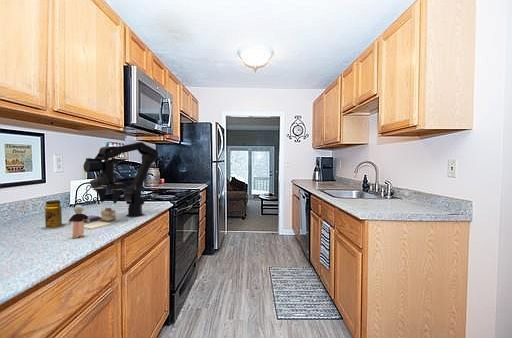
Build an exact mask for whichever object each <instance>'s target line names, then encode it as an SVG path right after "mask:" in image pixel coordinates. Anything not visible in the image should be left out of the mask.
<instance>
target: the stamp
mask: <svg viewBox="0 0 512 338" xmlns="http://www.w3.org/2000/svg"><path fill="white" fill-rule="evenodd" d="M100 217H101V220H100V221H104V222H113V221H116V210H114V209H112V207H106V208H105V209H104V210H101V212H100Z"/></svg>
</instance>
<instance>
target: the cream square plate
mask: <svg viewBox="0 0 512 338" xmlns="http://www.w3.org/2000/svg"><path fill="white" fill-rule="evenodd" d="M113 225H117V222H112V221H109V222H105V221H101V220H97V221H92V222H87V223H84V230H87V231H88V230H90V231H93V230H96V229H100V228H105V227H108V226H113Z"/></svg>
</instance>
